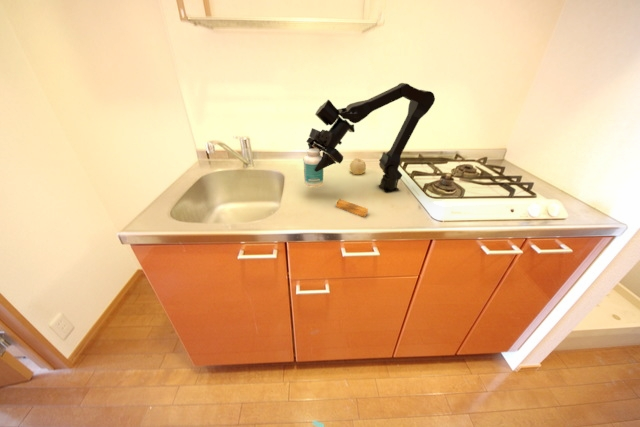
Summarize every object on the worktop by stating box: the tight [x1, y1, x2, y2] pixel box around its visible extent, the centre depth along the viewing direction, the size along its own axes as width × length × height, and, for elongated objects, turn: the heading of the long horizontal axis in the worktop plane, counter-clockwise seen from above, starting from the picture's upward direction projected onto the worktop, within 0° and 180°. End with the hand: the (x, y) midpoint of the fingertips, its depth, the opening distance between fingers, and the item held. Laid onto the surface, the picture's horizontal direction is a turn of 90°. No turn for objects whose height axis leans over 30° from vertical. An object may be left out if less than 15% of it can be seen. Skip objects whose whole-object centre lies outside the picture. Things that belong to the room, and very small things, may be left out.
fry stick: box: [335, 198, 369, 218], centre depth 84 cm, size 12×2×2 cm, turn 54°
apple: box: [349, 158, 367, 175], centre depth 113 cm, size 8×8×8 cm
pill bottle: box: [303, 148, 324, 188], centre depth 87 cm, size 8×7×14 cm
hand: (310, 167), depth 86 cm, fingers closed on pill bottle, 7 cm apart
